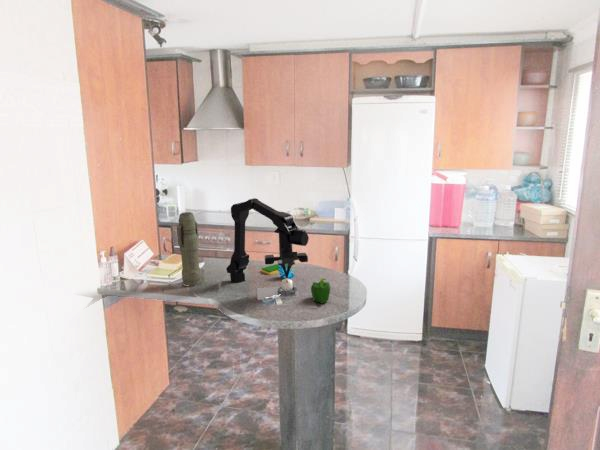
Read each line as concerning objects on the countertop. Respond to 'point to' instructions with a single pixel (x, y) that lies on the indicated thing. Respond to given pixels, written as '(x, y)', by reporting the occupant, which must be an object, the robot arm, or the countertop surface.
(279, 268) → the gear
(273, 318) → the countertop surface
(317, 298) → the bell pepper
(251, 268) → the countertop surface
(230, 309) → the countertop surface
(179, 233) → the thermos
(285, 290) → the knob
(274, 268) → the dish sponge
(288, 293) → the hub plate
